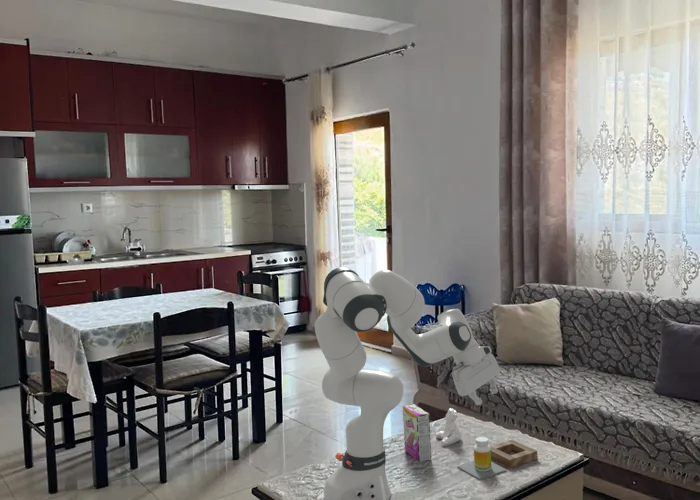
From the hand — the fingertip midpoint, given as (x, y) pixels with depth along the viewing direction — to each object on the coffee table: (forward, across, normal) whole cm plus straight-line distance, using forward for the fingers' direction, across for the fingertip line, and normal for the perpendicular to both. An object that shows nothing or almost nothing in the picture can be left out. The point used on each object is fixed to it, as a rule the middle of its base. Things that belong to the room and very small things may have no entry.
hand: (487, 398), depth 207 cm
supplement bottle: (+21, 0, +14) cm, 25 cm away
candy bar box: (+12, -4, +35) cm, 37 cm away
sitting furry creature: (+14, +14, +35) cm, 40 cm away
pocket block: (+24, +13, +12) cm, 29 cm away
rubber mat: (+21, 0, +14) cm, 25 cm away
